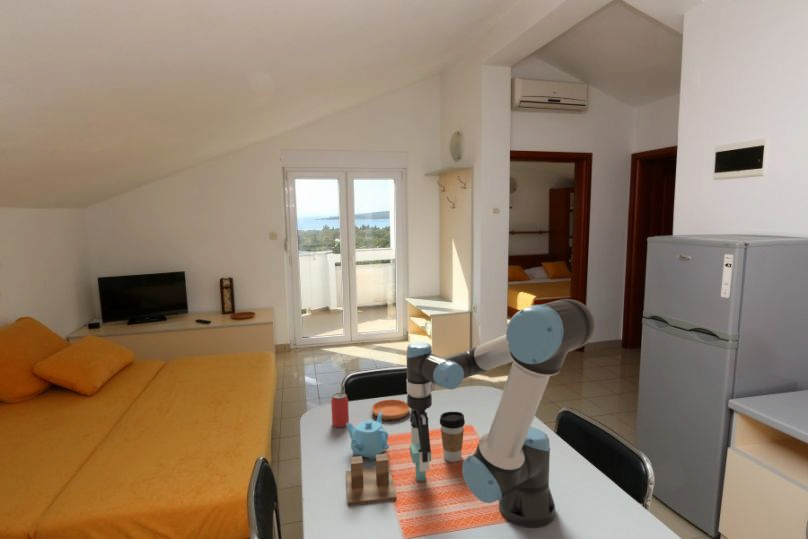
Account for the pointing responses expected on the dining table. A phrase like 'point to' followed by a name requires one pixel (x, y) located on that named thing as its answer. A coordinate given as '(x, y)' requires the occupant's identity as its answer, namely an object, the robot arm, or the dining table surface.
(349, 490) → the bracket
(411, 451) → the peg
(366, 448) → the teapot
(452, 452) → the coffee cup
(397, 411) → the saucer
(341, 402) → the beer can
